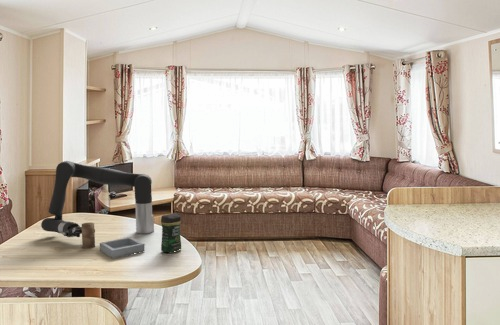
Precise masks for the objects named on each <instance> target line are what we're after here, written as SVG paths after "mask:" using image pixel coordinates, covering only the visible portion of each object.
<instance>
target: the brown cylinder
mask: <svg viewBox="0 0 500 325" xmlns="http://www.w3.org/2000/svg"><path fill="white" fill-rule="evenodd" d="M81 227H82V234H81V242H82V245H81V246H82V249H85V250H90V249H94V248H95V247H96V239H95V238H96V236H95V233H96V230H95V231H94V229H95V223H94V222H84V223H81Z"/></svg>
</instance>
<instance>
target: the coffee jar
mask: <svg viewBox="0 0 500 325" xmlns="http://www.w3.org/2000/svg"><path fill="white" fill-rule="evenodd" d="M181 223H182V217H181V214H180V213H177V212H172V213H169V214H163V215H162V216H161V220H160V224H161V230H162V232H161V244H160V245H161V247H160V251H161V252H162V251H163V253H164V252H173V253H175V252H174V251H177V250H179V249H181V250H182V241H181ZM177 252H178V251H177Z"/></svg>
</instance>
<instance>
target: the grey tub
mask: <svg viewBox="0 0 500 325" xmlns="http://www.w3.org/2000/svg"><path fill="white" fill-rule="evenodd" d="M145 250H146V249H145V243H143V242H141V241H139V240H138V239H135V238H133V237H131V236H129V237H124V238H119V239H113V240H108V241H104V242H99V251H100V252H101V253H102V254H104V255H106V256H107V257H109V258H111V259H113V260H114V259H118V257H119V258H123V257H127V255H128V256H132V255H131V254H133V255H135V254H134V253H137V254H140V253H139V252H142V253H144V252H143V251H145ZM122 256H123V257H122Z"/></svg>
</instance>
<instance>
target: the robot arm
mask: <svg viewBox="0 0 500 325" xmlns="http://www.w3.org/2000/svg"><path fill="white" fill-rule="evenodd" d="M71 178H78V179H79V178H80V179H81V178H82V179H85V180H88V181H91V182H93V183H97V184H100V185H106V186H128V187H131V188H132V187H133V188H134V198H135V233H136V234H150V233H153V232H155V215H154V214H153V198H152V184H153V181H152V178H151V177H150V176H149V175H148V174H145V173H132V172H125V171H122V170H118V169H113V168H109V167H102V166H96V165H95V166H94V165H93V166H92V165H84V164H81V163H77V162H74V161H71V160H65V161H62V162H60V163H58V164H57V166H56V168H55V178H54V179H55V181H54V188H53V191H52V196H51V198H50V203H49V206H48V213H49V214H50V215H53V216H54V217H46V218H44V219H43V220H41V224H40V226H41V229H42V230H43V231H45V232H53V233H58V234H59V235H60V234H61V235H63V236H64V237H67V238H74V237H77V238H80V237H81V235H82V225H80V224H78V223H77V222H73V221H69V220H63V210H64V206H65V203H66V193H67V186H68V184H69V181H70V179H71ZM94 231H95V232H96V229H95V228H94Z"/></svg>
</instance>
